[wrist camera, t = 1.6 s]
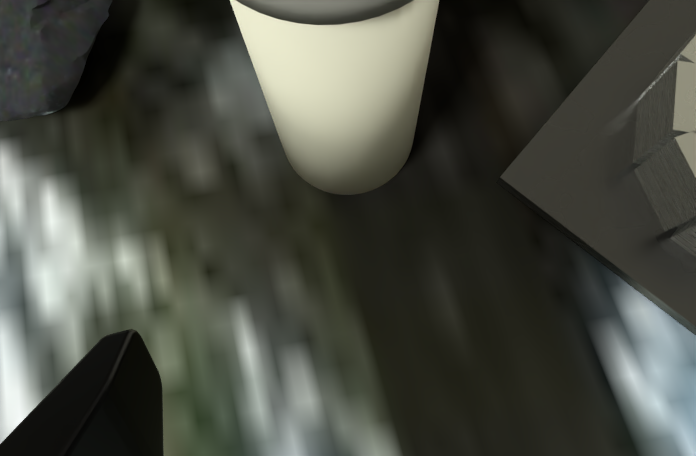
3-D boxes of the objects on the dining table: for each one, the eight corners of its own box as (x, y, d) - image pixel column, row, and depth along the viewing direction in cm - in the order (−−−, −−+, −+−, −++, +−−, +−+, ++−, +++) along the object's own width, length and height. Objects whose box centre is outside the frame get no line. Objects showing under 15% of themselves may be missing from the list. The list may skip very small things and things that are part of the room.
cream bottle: (355, 237, 22) (340, 61, 10) (239, 140, 23) (101, -122, 11) (455, 122, 23) (550, -162, 11) (340, 35, 24) (312, -311, 12)
